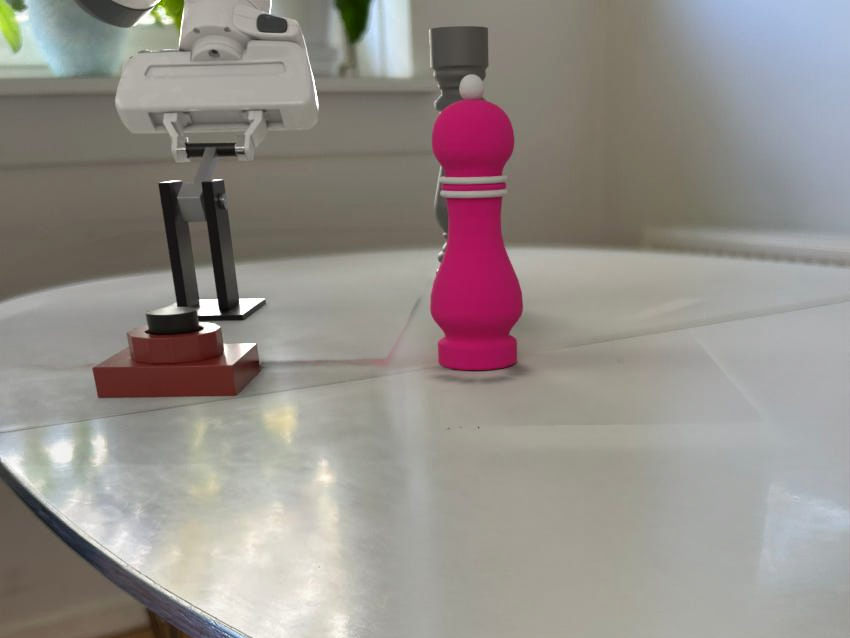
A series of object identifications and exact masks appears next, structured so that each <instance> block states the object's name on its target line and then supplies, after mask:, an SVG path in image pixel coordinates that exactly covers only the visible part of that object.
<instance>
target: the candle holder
mask: <svg viewBox="0 0 850 638" xmlns="http://www.w3.org/2000/svg"><path fill="white" fill-rule="evenodd" d="M428 40H429V63H430V64H429V67H430V69H432V71H433V78H434V80H435V81H436V84H437V88H438V89H439V90H440V95H439V96H438V98H436V99H435V101H434V102H433V105H434V106H433V107H434V110H436V112H439V114H440V113H441V112H442V111H443V110H444V109H445V108H446V107H448V106H449V105H451V104H453V103H455V102H458V101H462V100H464V99H463V98H462V97H461V95H460V91H459V87H460V83H461V81H462V79H463V78H464V77H465V76H467V75H470V74H474V75H477V76H478V77H480V79H481V80H482V81H483V82H484V80H485V79H486V77H487V72H486V70H487V68H489V65H490V64H489V27H487V26H486V27H485V26H478V25H477V26H475V25H473V26H472V25H464V26H463V25H462V26H461V25H459V26H458V25H457V26H456V25H455V26H439V27H432V28H429V29H428ZM480 100H484V101H487V100H486V99H485V97H484V96H482V97H481V99H480ZM439 165H440V164H439ZM442 176H445V172H444V169H443V167H442V166H441V165H440V166H439V171H438V177H437V182H436V183H437V184H436V190H435V195H434V202H433V214H434V217H435V220H436V222H437V224H438V226H439V227H440V229H442V230H443V233H442V237H443V238H445V243H444V244H443V245H442V248H441V251H440V252H439V253H438V254H437V261H438V262H439V263H440V264H441V262H442V259H443V256H444V253H445V250H446V245H447V239H448V221H449V216H448V209H447V202H446V198H445V197H442V196H441V195H440V192H441V191H442V188H441V187H442V185H443V184H442V183H441V182H440V178H441V177H442ZM438 270H439V268H437V270H436V271H435V276H436V275H437V272H438Z"/></svg>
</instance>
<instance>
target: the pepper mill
mask: <svg viewBox="0 0 850 638" xmlns="http://www.w3.org/2000/svg"><path fill="white" fill-rule="evenodd" d="M459 91H460V95H461V97H462V98H463V99H464V100H462V101H458V102H455V103H453V104H451V105H449V106H448V107H446V108H445V109H444V110H443V111H442V112H441V113H440V112H439V114H438V115H437V117H436V119H435V121H434V124H433V126H432V130H431V150H432V153H433V156H434V157H435V159H436V160H437V162H438V163H439V165H441V166H442V167H443V169H444V172H445V176H442V177H441V178H440V182H441V183H442V184H443V185H442V187H441V188H442V191H441V192H440V195H441V196H442V197H445V198H446V202H447V209H448V216H449V221H448V239H447V245H446V250H445V253H444V256H443V259H442V262H441V263H440V264H439V267H438V269H439V270H438V272H437V275H436V274H435V277H434V280H433V283H432V287H431V292H430V304H429V305H430V306H429V310H430V316H431V318H432V319H433V321H434V323H436V324H437V326H438V327H439V328H440V329H441V330H442V332H443V333H444V336H443V337H441V338H439V340H438V341H437V355H438V357H437V359H438V363H439V365H440V366H441V367H443V368H447V369H450V370H455V371H490V370H491V371H493V370H499V369H504V368H505V369H506V368H508V367H511V366H513V365H514V364H516V362H517V361H518V340H517V338H516V337H514V336H513V335H510V333H511V331H512V330H513V328H514V327H515V325H516V324H517V322H518V321H519V320H520V318H521V316H522V315H523V311H524V303H523V301H524V300H523V292H522V288H521V285H520V281H519V278H518V276H517V273H516V271H515V269H514V267H513V264H512V261H511V260H510V257H509V255H508V252H507V249H506V247H505V242H504V237H503V234H502V217H501V216H502V206H503V197H505V196H507V195H508V194H509V190H508V189H507V183H506V182H508V181H509V180H508V179H509V178H508V175H506V174H503V171H504V168H505V166H506V164H507V163H508V161H510V158H511V157H512V155H513V154H514V150H515V134H514V128H513V124H512V122H511V121H512V120H510V118H509V116H508V114H507V113H506V111H504V110H503V109H502V108H501V107H500V106H499V105H497V104H495V103H493V102H491V101H487V100H486V101H484V100H480V99H481V97H484V96H483V95H484V93H485V84H484V80H483V81H482V80H481V79H480V77H478V76H477V75H474V74H470V75H467V76H465V77H464V78H463V79H462V81H461V83H460V87H459Z"/></svg>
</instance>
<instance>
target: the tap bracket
mask: <svg viewBox="0 0 850 638" xmlns="http://www.w3.org/2000/svg"><path fill="white" fill-rule="evenodd" d="M182 183H183V180H181V179H180V180H179V179H178V180H177V179H176V180H174V179H173V180H168V181H160V182H158V183H157V185H158V193H159V197H160V206H161V210H162V216H163V217H162V218H163V222H164V229H165V234H166V236H165V237H166V243H167V249H168V255H169V262H170V268H171V269H170V270H171V276H172V281H173V287H174V289H173V290H174V295H175V302H173V303H171V304H170V305H168V306H165V308H167V307H192V308H196V309H197V314H198V321H199V322H226V321H231V322H232V321H236V322H237V321H238V322H239V321H244V320H247V318H249V317H250V316H251V315H253V314H254V313H256V312H257V311H258V310H260V309H261V308H262V307H263V306H265V305H266V304H267V300H266V298H240V295H239V288H238V279H237V273H236V272H237V271H236V263H235V256H234V248H233V240H232V234H231V233H232V232H231V226H230V225H231V224H230V217H229V216H230V215H229V210H228V208H229V201H228V196H227V193H226V186H225V180H224V179H223V178H221V179H219V178H218V179H216V178H215V179H211V180H209V181H203V182H201V183H202V191H203V198H204V205H205V213H206V220H207V221H206V227H207V235H208V241H209V248H210V255H211V263H212V270H213V278H214V285H215V291H216V299H213V298H212V299H211V298H210V299H200V294H199V293H200V292H199V287H198V286H199V285H198V280H197V273H196V267H195V260H194V253H193V245H192V238H191V231H190V225H189V222H184V221H183V218H182V214H181V211H180V207H179V204H178V200H177V196H178V194H179V191H180V188H181V186H182Z"/></svg>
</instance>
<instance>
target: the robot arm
mask: <svg viewBox="0 0 850 638" xmlns="http://www.w3.org/2000/svg"><path fill="white" fill-rule="evenodd" d="M73 1H74V3H75V4H76V5H77V6H78V8H80V9H81V10H82V11H83V12H84V13H86V14H87V15H88V16H90V17H92V18H93V19H94V20H97V21H99V22H100V23H101V22H102V23H104V24H107V25H109V26H113V27H118V28H123V29H129V28H133V27H135V26H137V25H138V24H139V23H140V22H141V21H142V20H143V19H144V18H145V17H146V16H147V15H148V14H149V13H150V12H151V11H152V10H154V8H156V6H157V5H158V3H159V2H160V1H161V0H73ZM271 9H272V0H183V11H182V17H181V24H180V34H179V35H180V36H179V41H178V49H176V48H175V49H171V48H170V49H161V50H150V49H143V50H139V51H137V53H136V54H134V55H132V56H130V57H128V58H126V59H124V61H123V62H122V68H121V75H120V79H119V82H118V85H117V89H116V91H115V92H116V93H115V97H114V106H115V108H116V111H117V114H118V116H119V118H120V120H121V122H122V124H123V125H124V127H125V128H126V129H127V130H128V131H129V132H130V133H131V134H134V135H146V134H148V135H149V134H150V135H151V134H167V135H168V138H169V140H170V142H171V146H170V148H171V154H172V155H171V156H172V157H173V159H174V162H175V163H191V162H192V158H189V156H188V153H187V144H188V143H190V141H189V138H188V136H184V133H186V134H188V133H190V134H191V133H227V132H229V133H231V132H244V133H243V134H236V135H235V139H234V142H236V144H235V152H236V155H238V157H237V161H238V162H247V161H248V162H250V161H254V158H255V149H257V148H258V146H259V145H260V144H261V143H262V142H263V141H264V140H265V139H266V138H267V136H268V132H270V131H271V132H272V131H307V130H308V131H309V130H311V129H312V128H313V127H314V126H316V125H317V123H318V122H319V99H318V95H317V89H316V85H315V78H314V74H313V71H312V70H313V69H312V67H311V63H310V58H309V53H308V48H307V45H306V44H307V43H306V40H305V37H304V34H303V31H302V28H301V25H300V24H299V22H298V21H297V20H296V19H294V18H289V17H285V16H281V15H277V14H273V13H271Z"/></svg>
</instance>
